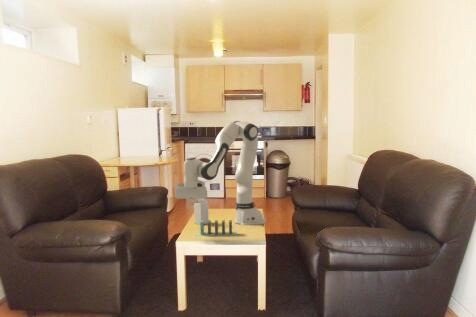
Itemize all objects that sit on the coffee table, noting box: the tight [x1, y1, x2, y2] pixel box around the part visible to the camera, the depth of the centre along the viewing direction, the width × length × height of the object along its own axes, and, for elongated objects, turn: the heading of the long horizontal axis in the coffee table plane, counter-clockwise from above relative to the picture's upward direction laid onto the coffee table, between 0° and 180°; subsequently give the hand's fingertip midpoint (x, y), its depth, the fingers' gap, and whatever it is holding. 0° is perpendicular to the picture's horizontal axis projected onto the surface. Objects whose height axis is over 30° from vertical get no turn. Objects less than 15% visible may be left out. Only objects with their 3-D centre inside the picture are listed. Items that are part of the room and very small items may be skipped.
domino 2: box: [207, 219, 212, 236], centre depth 219 cm, size 2×4×8 cm, turn 179°
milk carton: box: [193, 198, 209, 225], centre depth 242 cm, size 7×7×19 cm
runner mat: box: [195, 231, 238, 236], centre depth 219 cm, size 26×7×1 cm, turn 89°
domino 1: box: [199, 220, 205, 236], centre depth 219 cm, size 2×4×8 cm, turn 179°
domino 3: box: [214, 219, 219, 236], centre depth 219 cm, size 2×4×8 cm, turn 179°
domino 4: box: [221, 219, 226, 236], centre depth 219 cm, size 2×4×8 cm, turn 179°
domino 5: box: [228, 219, 233, 234], centre depth 219 cm, size 2×4×8 cm, turn 179°
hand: (191, 205), depth 217 cm, fingers closed
